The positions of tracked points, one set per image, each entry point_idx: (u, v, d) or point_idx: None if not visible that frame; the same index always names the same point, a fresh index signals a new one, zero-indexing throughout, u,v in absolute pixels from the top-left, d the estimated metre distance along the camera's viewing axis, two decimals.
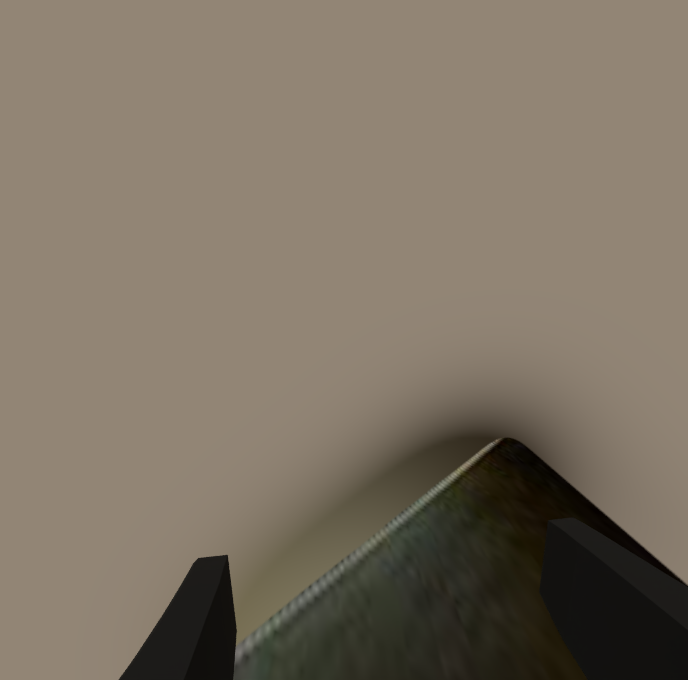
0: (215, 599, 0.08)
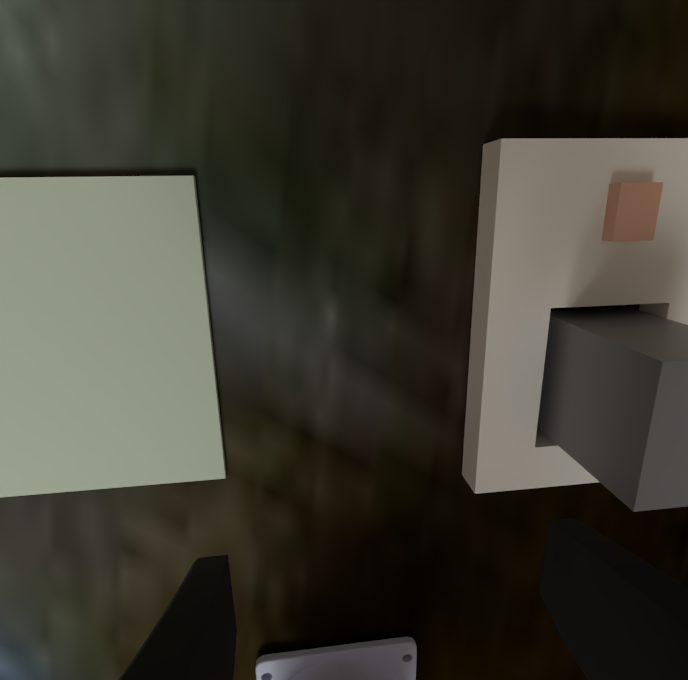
0: (215, 599, 0.08)
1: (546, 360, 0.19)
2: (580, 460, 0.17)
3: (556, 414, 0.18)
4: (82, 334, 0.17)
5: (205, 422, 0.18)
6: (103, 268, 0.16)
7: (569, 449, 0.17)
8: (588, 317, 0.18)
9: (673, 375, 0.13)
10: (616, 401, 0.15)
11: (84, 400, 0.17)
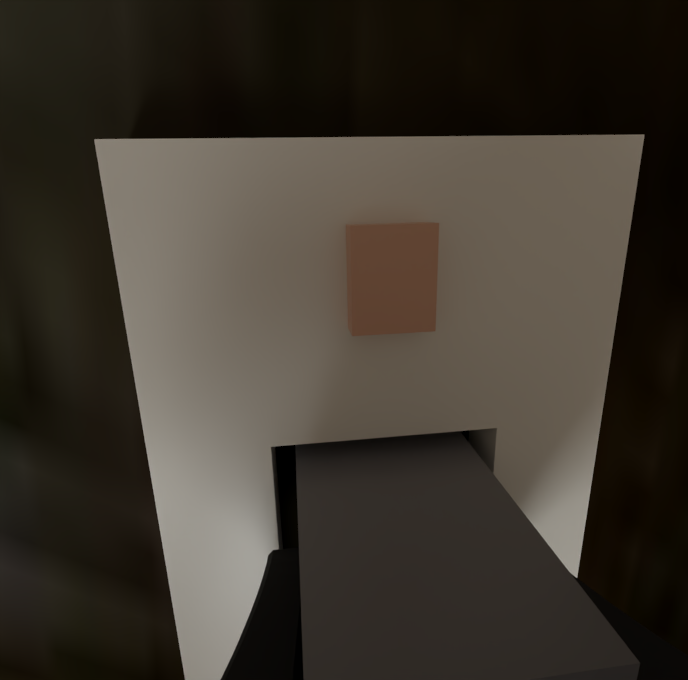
0: None
1: None
2: None
3: None
4: None
5: None
6: None
7: None
8: (354, 455, 0.10)
9: None
10: None
11: None
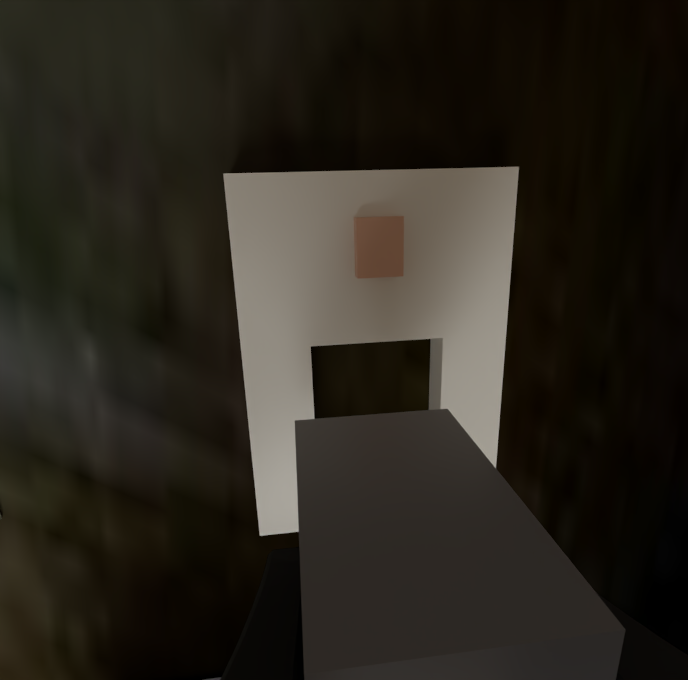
0: None
1: None
2: None
3: None
4: None
5: None
6: None
7: None
8: (352, 442, 0.10)
9: None
10: None
11: None
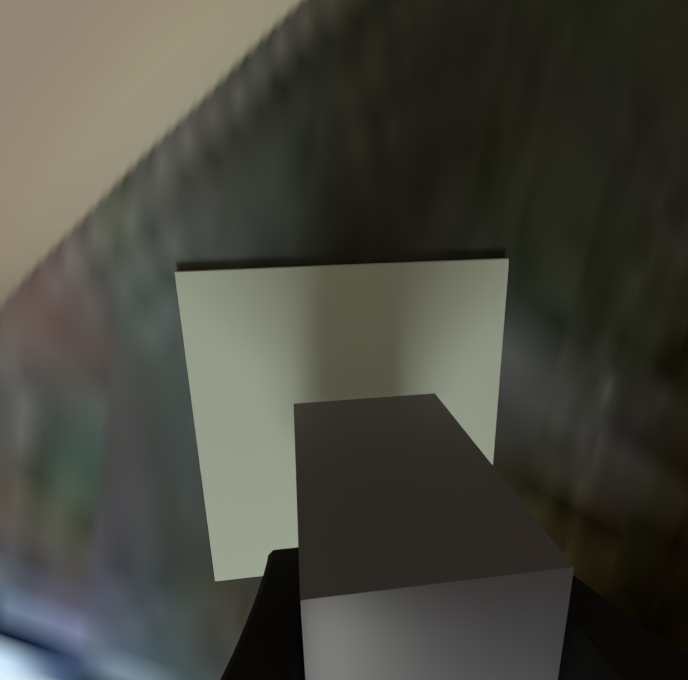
0: None
1: None
2: None
3: None
4: None
5: None
6: (408, 351, 0.16)
7: None
8: (346, 422, 0.11)
9: (332, 621, 0.06)
10: None
11: None
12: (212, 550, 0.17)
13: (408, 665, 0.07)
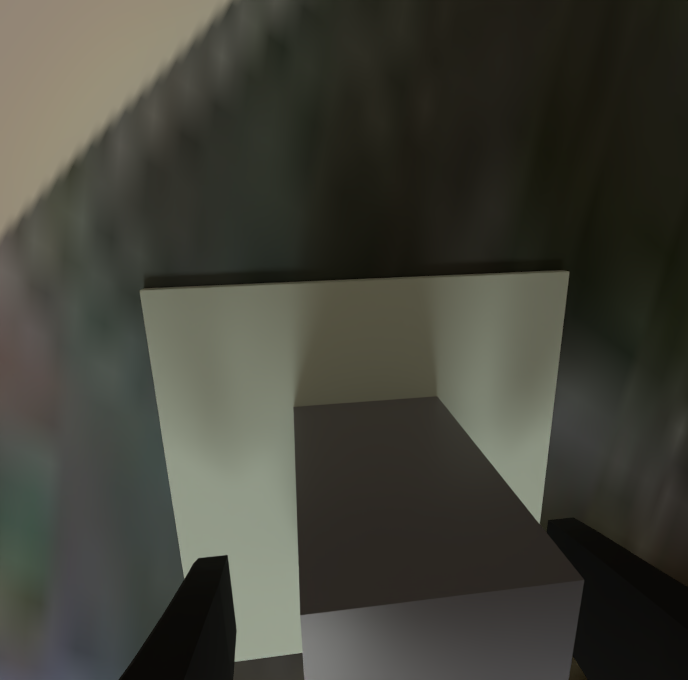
0: (215, 599, 0.08)
1: None
2: None
3: None
4: None
5: None
6: (440, 387, 0.12)
7: None
8: (347, 426, 0.11)
9: (333, 636, 0.06)
10: None
11: None
12: None
13: None
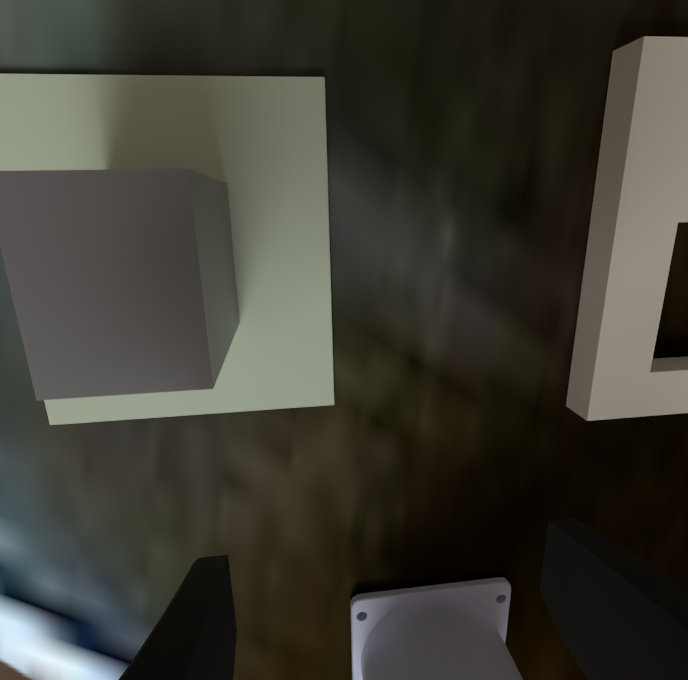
0: (215, 599, 0.08)
1: None
2: None
3: None
4: None
5: (318, 344, 0.18)
6: (228, 176, 0.16)
7: None
8: None
9: (10, 193, 0.09)
10: None
11: None
12: None
13: (77, 242, 0.10)
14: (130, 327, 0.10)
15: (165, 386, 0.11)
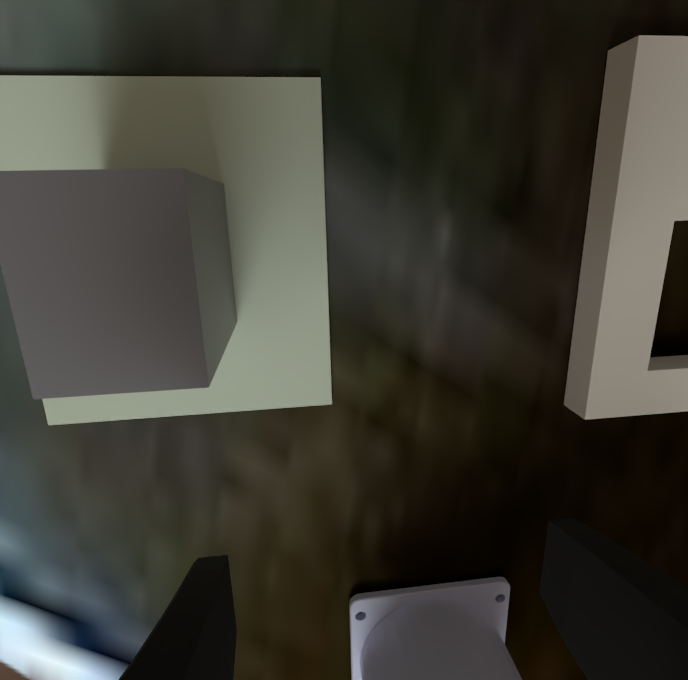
0: (215, 599, 0.08)
1: None
2: None
3: None
4: None
5: (316, 344, 0.18)
6: (225, 176, 0.16)
7: None
8: None
9: (6, 193, 0.09)
10: None
11: None
12: None
13: (72, 242, 0.10)
14: (126, 326, 0.10)
15: (161, 385, 0.11)
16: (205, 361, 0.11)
